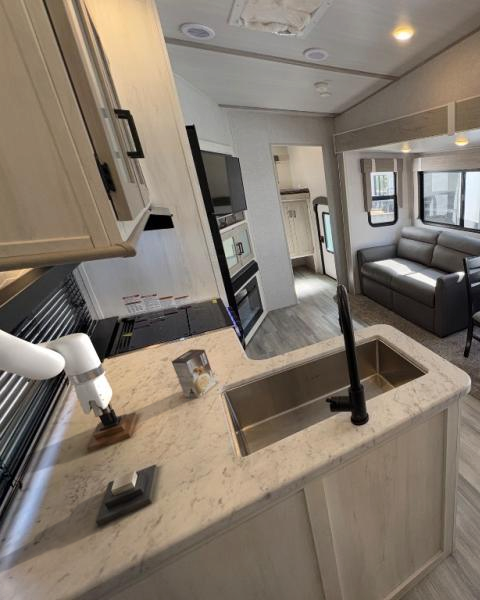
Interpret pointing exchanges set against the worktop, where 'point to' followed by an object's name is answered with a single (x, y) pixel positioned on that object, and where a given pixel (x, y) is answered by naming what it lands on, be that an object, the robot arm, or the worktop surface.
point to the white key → (124, 483)
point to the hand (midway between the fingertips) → (110, 422)
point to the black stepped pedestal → (128, 497)
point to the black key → (110, 424)
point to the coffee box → (194, 372)
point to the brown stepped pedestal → (113, 432)
